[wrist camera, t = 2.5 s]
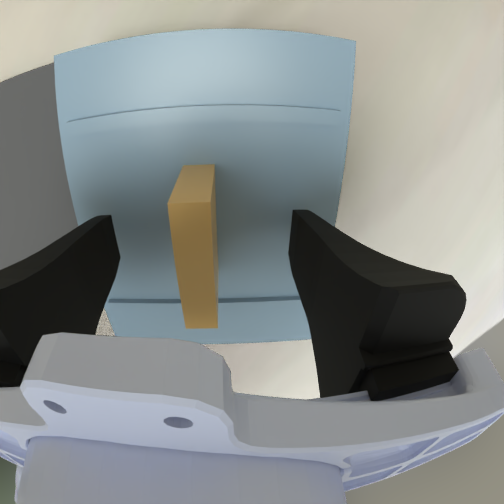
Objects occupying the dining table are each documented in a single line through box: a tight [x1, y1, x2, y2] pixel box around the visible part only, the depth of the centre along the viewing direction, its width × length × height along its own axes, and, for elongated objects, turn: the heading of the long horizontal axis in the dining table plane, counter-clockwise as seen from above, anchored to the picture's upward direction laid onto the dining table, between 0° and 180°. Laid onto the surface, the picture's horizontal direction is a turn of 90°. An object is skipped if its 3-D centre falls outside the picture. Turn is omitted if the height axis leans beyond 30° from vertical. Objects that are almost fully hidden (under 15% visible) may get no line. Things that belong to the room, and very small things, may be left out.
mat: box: [0, 63, 78, 270], centre depth 15 cm, size 16×14×1 cm
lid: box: [54, 29, 356, 344], centre depth 12 cm, size 15×11×5 cm
